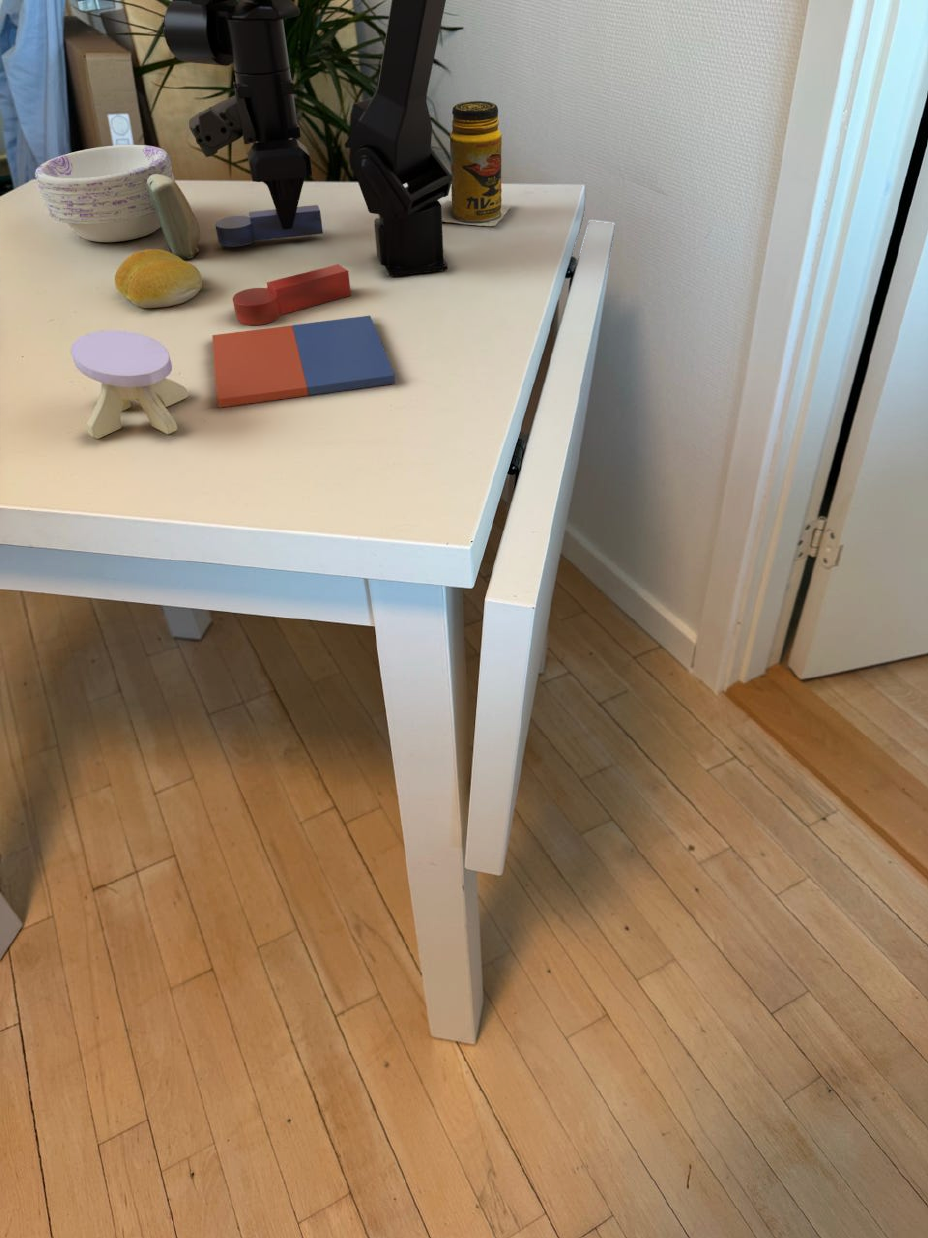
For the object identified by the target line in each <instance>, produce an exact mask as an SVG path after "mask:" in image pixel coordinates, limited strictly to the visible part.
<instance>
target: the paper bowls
mask: <svg viewBox="0 0 928 1238" xmlns="http://www.w3.org/2000/svg"><path fill="white" fill-rule="evenodd" d="M154 174H160V175H164V176H167V177H170V178H171V179H173V180H174V181H175V182H176V179H175V175H174V173H173V165H172V162H171V158H170V155H169V153H167V151H166V150H164V149H163V148H161V147H157V146H154V145H147V144H116V145H107V146H97V147H93V148H85V149H82V150H77V151H74V152H70V153H65V154H62V155H60V156H56V157H54V158H51V159H49V160H47V161H45V162H43V163H41V164H40V165H39V166H37V168H35V172H34V177H35V179H36V183H38V188H39V192H40V194H41V197H42V200H43V201H44V206H45V209H46V211H47V212H48V215H49V217H50V218H52V219H53V220H54V221H58V222H60V223H66V224H68V225H69V227H70V228H71V230H73V231H74V233H75V234H77V235H78V237H80V238H82V239H84V240H86V241H91V242H97V243H120V242H125V241H131V240H136V239H139V238H143V237H145V236H150V235H151V234H153V233H155V232H156V231H158V230H159V229H160V228H161V225H160V222H159V219H158V216H157V214H156V211H155V208H154V205H153V202H152V200H151V198H150V195H149V192H148V189H147V179H148V178H149V177H150V176H151V175H154Z"/></svg>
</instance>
